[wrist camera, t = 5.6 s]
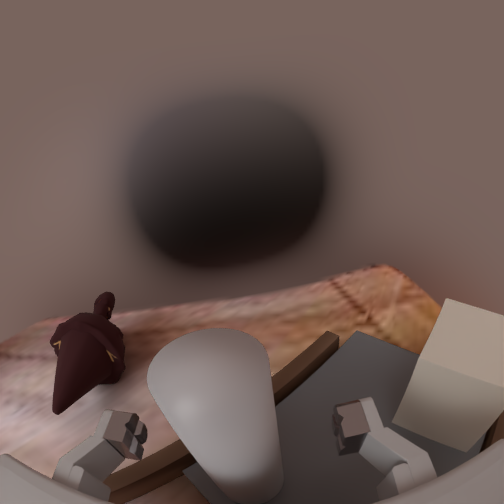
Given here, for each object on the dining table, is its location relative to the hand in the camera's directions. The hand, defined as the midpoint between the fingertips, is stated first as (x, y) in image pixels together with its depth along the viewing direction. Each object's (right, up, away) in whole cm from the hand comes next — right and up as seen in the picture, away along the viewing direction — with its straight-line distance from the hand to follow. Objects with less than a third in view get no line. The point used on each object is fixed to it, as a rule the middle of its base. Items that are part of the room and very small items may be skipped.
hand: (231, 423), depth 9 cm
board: (+8, -5, +3) cm, 10 cm away
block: (+14, -3, +3) cm, 14 cm away
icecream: (-13, -5, +11) cm, 18 cm away
